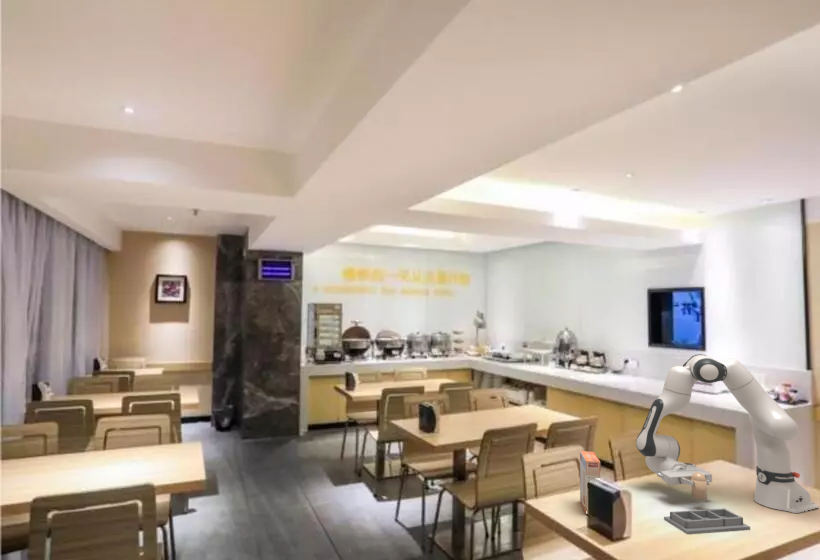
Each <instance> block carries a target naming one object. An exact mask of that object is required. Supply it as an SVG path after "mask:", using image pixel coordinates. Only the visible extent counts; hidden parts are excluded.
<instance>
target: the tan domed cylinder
mask: <svg viewBox="0 0 820 560" xmlns="http://www.w3.org/2000/svg"><path fill="white" fill-rule="evenodd" d="M691 480H692V481H694V482H695V486H691V496H692V498H694V499H697V500H707V499H708V490H707V486H708V485H706V477H705V476H704V475H703V474H702V473H699V472H696V473H693V474H692V476H691Z"/></svg>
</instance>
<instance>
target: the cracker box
mask: <svg viewBox="0 0 820 560" xmlns="http://www.w3.org/2000/svg"><path fill="white" fill-rule="evenodd" d="M579 455H580V456H579V461H580V462H579V463H580V464H579V468H580V469H579V471H580V473H579V474H580V476H579V478H580V479H579V480H580V481H579V484H580V485H579V486H580V488H579V493H580V494H579V496H580V497H579V498H580V499H579V501H581V502H580V504H581V507H582V506H583V507H582V509H583V508H584V509H583V512H584V513H586V511H587V483H588V481H590V480H592V479H595V478H600V479H601V461H600V459H599V458H598V456H597V455H596V453H595V452H594V451H585V450H584V451H583V450H580V452H579Z"/></svg>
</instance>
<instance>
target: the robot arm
mask: <svg viewBox="0 0 820 560" xmlns="http://www.w3.org/2000/svg"><path fill="white" fill-rule="evenodd" d="M748 369H749V368H747V367H746V366H745V365H743V363H742V362H741V361H739V360H738V359H736V358H726V359H723V360H722V361H718V360H716V359H714V358H712V357H710V356H709V355H706V354H700V353H699V354H694V355H692V356H691V357H689V359H688V360H686V362H685V363H683V364H682V366H681V365H675V366H672V367H670V368H669V370H668V373H667V375H666V377H665V380H664V383H663V387H662V388H663V389H662V391H661V393H660V394H659V396H658V397H657V399H655V400H654V401H653V402H652V404H651V405H650V407H649V410H648V412H647V415H646V418H645V421H644V423H643V426H642V427H641V430H640V432H639V433H638V435H637V437H636V440H635V447H636V449H637V450H638V452H639V453H640V454H641V455H642V456H643V457H645V463H646V464H645V465H646V467H648V470H649V469H650V471H652V472H653V473H654V474H656V476H657V477H659V478H661V480H662V482H664V483H666V484H667V485H670V486H677V485H678V486H679V485H687V486H689V487H692V486H695V482H694V481H692V480H691V476H692V474H693V473H696V472H699V473H702V474H703V475H704V476H705V477H706V485H707V486H709V485H710V483H712V482H713V476H712V475H713V474H712V472H710V471H708V470H706V469H704V468H702V467H698V466H696V464H695V463H690V462H682V461H678V460H679V458H680V455H681V446H680V444H679V441H678V439H676V438H675V437H674V436H671V435H665V434H657V431H658V429H659V426H660V424H661V421H662V420H663V418H664V417H666V416H668V415H670V414H673V413H676V412H682V411H683V410H685V409H686V408H687V407H688V406H689V404H690V402H691V398H692V393H693V387H694V386H695V384H696V383H697V382H702V383H704V384H713V383H714V384H715V383H717V382H722V383H723V384H724V386H725V387H726V388H727V389H728V390H729V392H730V393H731V394H732V396H734V398H735V400H736V401H737V402H738V403H739V405H740V406H741V407H742V408H743V409H744V410H745V411H746V412H748V420H749V422H750V424H751V428H752V433H753V437H754V441H755V445H756V459H757V460H756V461H757V462H756V463H757V466H755V467H756V469H755V471H756V474H755V475H756V477H757V478H756V481H755V491H754V493H753V496H754V497H753V500H754V502H756V503H757V504H759V505H762V506H764V507H767V508H770V509H775V510H780V511H784V512H788V513H792V514H799V513H805V512H809V511H808V510H810V511H812V510H811V509H815V508H819V505H818V504H816V503H815V502H813V501H811V495H810V493H809V491H808V490H807V489H806V488H804V487H803V486H802V485H801V484H799V482H797V481H796V480H795V478H797V479H800V478H801V474H800V473H799V472H795V471H791V454H790V450H789V448H788V446H787V444H786V441H790V440H792V439H794V438H795V437H797V435H798V433H799V427H798V424H797V422H796V421H795V420H794V419H793V418H792V417H791V416H790V415H789V414H788V413H787V412H786V411H785V409H784V408H782V406H780V405H779V403H778V402H776V401H775V399H773V398H772V397H771V396H770V395H769V393H768V392H767V391H766V390H765V389H764V387H763V386H762V385H761V384H760V383H759V381H758V380H757V378H755V376H754V375H753V373H751V371H750V370H748ZM815 510H816V509H815ZM804 511H805V512H804Z"/></svg>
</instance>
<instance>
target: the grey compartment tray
mask: <svg viewBox="0 0 820 560" xmlns="http://www.w3.org/2000/svg"><path fill="white" fill-rule="evenodd" d="M663 520H664V521H666V522H667V523H669V524H670V525H672V526H674V528H677V529H678V530H680V531H681V532H683V533H685V534H686V535H693V534H708V533H709V534H710V533H721V532H735V531H736V532H738V531H749V530H751V526H749V525H748V524H746V523H745V522H744V518H743V517H742V516H740V515H738V514H736V513H734V512H732V511H731V510H729V509H727V508H712V509H711V508H710V509H708V508H707V509H696V510H695V509H694V510H680V511H679V510H678V511H676V510H675V511H669V516H664V517H663Z"/></svg>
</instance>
